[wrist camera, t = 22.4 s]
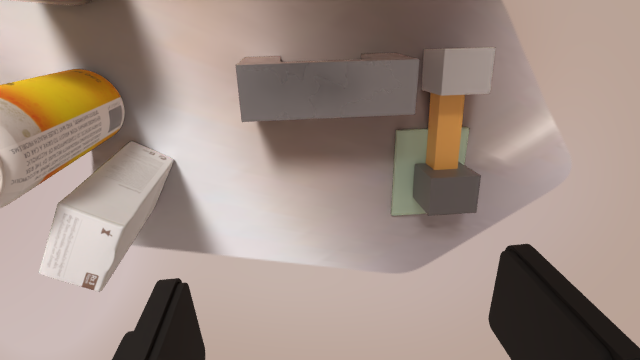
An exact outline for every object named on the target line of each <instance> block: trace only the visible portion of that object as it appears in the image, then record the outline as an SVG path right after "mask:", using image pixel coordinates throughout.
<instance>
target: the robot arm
mask: <svg viewBox="0 0 640 360" xmlns="http://www.w3.org/2000/svg"><path fill="white" fill-rule="evenodd" d="M489 324H490V327H491V329H492V331H493V332H494V334H495V335H496V337H497V338H498V340H499V341H500V343H501V344H502V346H503V347H504V349H505V350H506V352H507V354H508V355H509V357H510V358H511V360H640V348H639V347H638V346H637V345H636V344H635V343H634V342H632V341H631V340H630V339H629V338H628V337H627V336H626V335H625V334H624V333H623V332H622V331H621V330H620V329H619V328H618V327H617V326H616V325H615V324H614V323H612V322H611V321H610V320H609V319H608V318H607V317H606V316H605V315H604V314H603V313H602V312H601V311H600V310H599V309H598V308H597V307H596V306H595V305H594V304H592V303H591V302H590V301H589V300H588V299H587V298H586V297H585V296H584V295H583V294H582V293H581V292H580V291H579V290H578V289H577V288H576V287H574V286H573V285H572V284H571V283H570V282H569V281H568V280H567V279H566V278H565V277H564V276H563V275H562V274H561V273H560V272H559V271H557V269H556V268H555V267H553V266H552V265H551V264H550V263H549V262H548V261H547V260H546V259H545V258H544V257H543V256H542V255H541V254H540V253H539V252H538V251H537V250H536V249H535V248H533V247H532V246H531V245H529V244H521V245H511V246H508V247H507V248H506V250H505V251H503V252H502V253H501V255H500V261H499V266H498V271H497V276H496V281H495V287H494V292H493V297H492V302H491V307H490V313H489ZM112 360H205V347H204V343H203V339H202V336H201V332H200V328H199V324H198V320H197V316H196V312H195V309H194V305H193V301H192V297H191V293H190V289H189V286H188V284H187V283H182V281H181V280H180V279H179V278H176V279H166V280H159V281H158V282H157V283H156V285H155V287H154V289H153V291H152V293H151V296H150V298H149V300H148V302H147V304H146V306H145V308H144V311H143V313H142V315H141V317H140V319H139V321H138V324H137V326H136V328H135V330H134V331H131V332H128V333H126V334H125V336H124V337H123V339H122V341H121V343H120V345H119V347H118V349H117V351H116V353H115V355H114V357H113V359H112Z"/></svg>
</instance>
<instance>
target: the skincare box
mask: <svg viewBox="0 0 640 360" xmlns="http://www.w3.org/2000/svg"><path fill="white" fill-rule="evenodd" d="M173 161H174V160H173V159H172V158H170V157H168V156H166V155H163V154H161V153H159V152H157V151H154V150H152V149H150V148H147V147H145V146H143V145H140V144H138V143H136V142H129V143H128V144H126V145H125V146H124V147H123V148H122V149H121V150H119V151H118V152H117V153H116V154H115V155H114V156H113V157H112V158H110V159H109V160H108V161H107V162H106V163H104V164H103V165H102V166H101V167H100V168H99V169H97V170H96V171H95V172H94V173H93V174H92V175H91V176H89V178H87V179H86V180H85V181H84V182H83V183H82V184H81V185H79V186H78V187H77V188H76V189H75V190H74V191H72V192H71V193H70V194H69V195H68V196H66V197H65V198H64V199H63V200H62V201H60V202H59V203H58V205H57V208H56V212H55V216H54V220H53V223H52V227H51V231H50V234H49V238H48V241H47V245H46V249H45V252H44V256H43V259H42V263H41V267H40V270H39V274H41V275H44V276H47V277H50V278H53V279H57V280H60V281H63V282H67V283H71V284H74V285H77V286H81V287H85V288H88V289H91V290H95V291H98V292H100V291H102V290H103V288H104V287H105V285H106V284H107V282H108V281H109V279H110V278H111V276H112V274H113V273H114V271H115V270H116V268H117V267H118V265H119V263H120V262H121V260H122V259H123V257H124V255H125V254H126V252H127V251H128V249H129V247H130V246H131V244H132V243H133V241H134V239H135V238H136V236H137V235H138V233H139V231H140V230H141V228H142V227H143V225H144V224H145V222H146V220H147V219H148V217H149V216H150V214H151V213H152V211H153V209H154V208H155V205H156V203H157V200H158V198H159V195H160V193H161V191H162V188H163V186H164V183H165V181H166V178H167V176H168V174H169V171H170V169H171V166H172V164H173Z"/></svg>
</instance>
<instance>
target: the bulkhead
mask: <svg viewBox="0 0 640 360" xmlns="http://www.w3.org/2000/svg"><path fill="white" fill-rule="evenodd" d="M418 71H419V59H417V58H413V57H409V56H406V55H402V54H398V53H366V54H361V59H360V60H328V61H296V62H281V57H280V56H267V57H245V58H243V59H242V60H241V61H240V62H239V63H238V64H236V73H237V82H238V92H239V101H240V110H241V119H242V122H251V121H274V120H298V119H321V118H345V117H368V116H392V115H415V108H416V96H417V84H418Z"/></svg>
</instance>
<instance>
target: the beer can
mask: <svg viewBox="0 0 640 360" xmlns="http://www.w3.org/2000/svg"><path fill="white" fill-rule="evenodd" d="M124 116H125V110H124V104H123V101H122V99H121V96H120V94H119V93H118V91H117V90H116V88H115V87H114V86H113V85H112V84H111V83H110V82H109V81H108V80H106V79H105V78H104V77H102V76H100V75H98V74H97V73H94V72H91V71H88V70H83V69H72V70H67V71H62V72H58V73H53V74H49V75H44V76H40V77H35V78H30V79H26V80H21V81H17V82H12V83H7V84H3V85H0V208H1V207H4V206H6V205H8V204H10V203H11V202H13V201H14V200H16V199H17V198H19V197H20V196H22V195H23V194H25V193H26V192H28V191H29V190H31V189H32V188H34V187H36V186H37V185H39V184H40V183H42V182H43V181H45V180H46V179H48V178H49V177H51V176H52V175H54V174H55V173H57V172H58V171H60V170H62V169H63V168H65V167H66V166H68V165H69V164H71V163H72V162H74V161H75V160H77V159H78V158H79V157H81V156H83V155H85V154H86V153H87V152H89V151H91V150H92V149H94V148H95V147H97V146H98V145H100V144H101V143H103V142H104V141H106V140H107V139H109V138H110V137H112V136H113V135H115V134H116V133H117V132H118V131H119V129H120V128H121V126H122V124H123V121H124Z"/></svg>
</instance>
